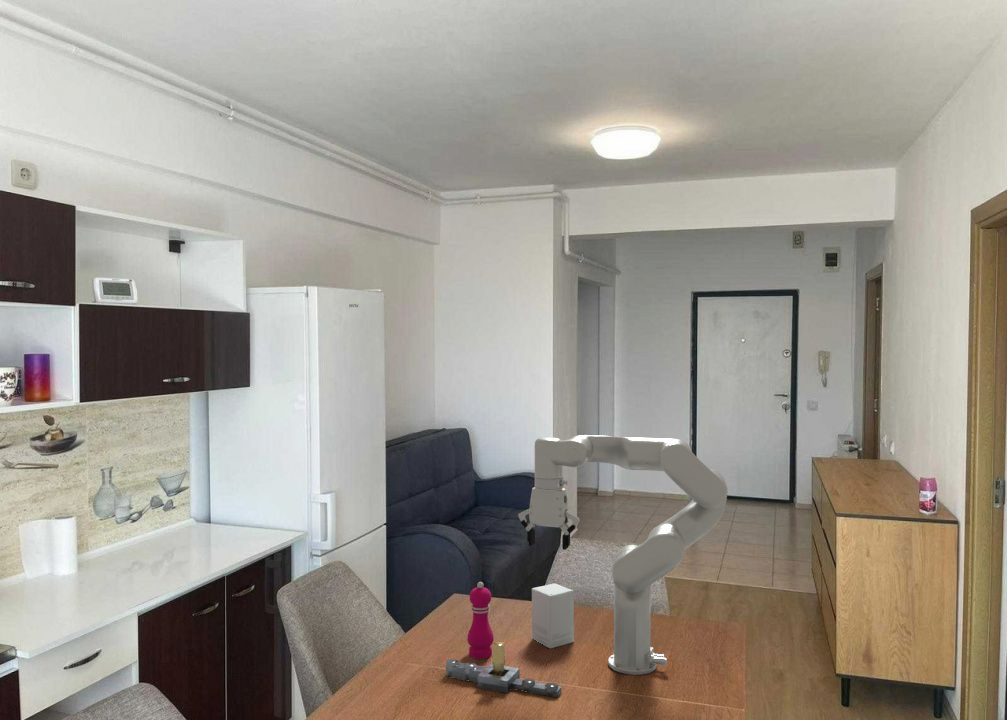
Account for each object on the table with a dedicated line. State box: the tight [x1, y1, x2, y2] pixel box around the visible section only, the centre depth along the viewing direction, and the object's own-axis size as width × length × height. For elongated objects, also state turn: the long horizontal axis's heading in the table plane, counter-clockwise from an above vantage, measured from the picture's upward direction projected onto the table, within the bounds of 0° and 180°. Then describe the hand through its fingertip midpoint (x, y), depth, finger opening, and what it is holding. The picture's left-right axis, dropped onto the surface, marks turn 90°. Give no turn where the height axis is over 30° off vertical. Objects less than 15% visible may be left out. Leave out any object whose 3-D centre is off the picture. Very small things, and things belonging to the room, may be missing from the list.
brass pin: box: [492, 641, 506, 677], centre depth 194 cm, size 3×3×10 cm
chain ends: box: [445, 658, 562, 699], centre depth 194 cm, size 31×8×4 cm, turn 67°
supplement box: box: [531, 582, 575, 649], centre depth 222 cm, size 9×9×15 cm
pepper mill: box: [466, 581, 495, 660], centre depth 212 cm, size 7×7×20 cm
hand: (548, 546), depth 209 cm, fingers open, 9 cm apart
